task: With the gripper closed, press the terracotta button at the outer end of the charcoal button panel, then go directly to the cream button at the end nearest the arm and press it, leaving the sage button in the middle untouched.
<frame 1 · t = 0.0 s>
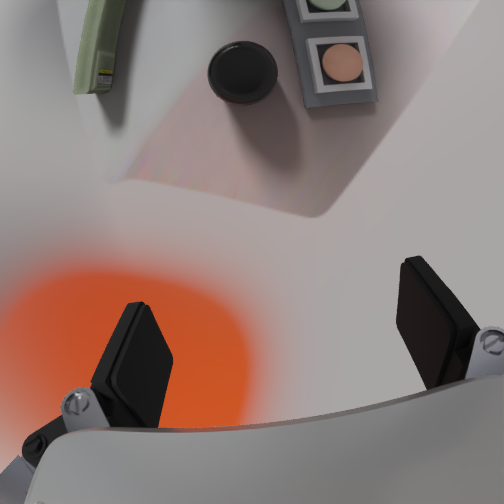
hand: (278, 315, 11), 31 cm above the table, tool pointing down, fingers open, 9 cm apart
button panel: (319, 2, 29), on the table
handheld radio: (118, 7, 29), on the table
terracotta button: (341, 62, 30), point 4 cm above the table, slide at 0.0 cm
supplement bottle: (244, 77, 34), on the table
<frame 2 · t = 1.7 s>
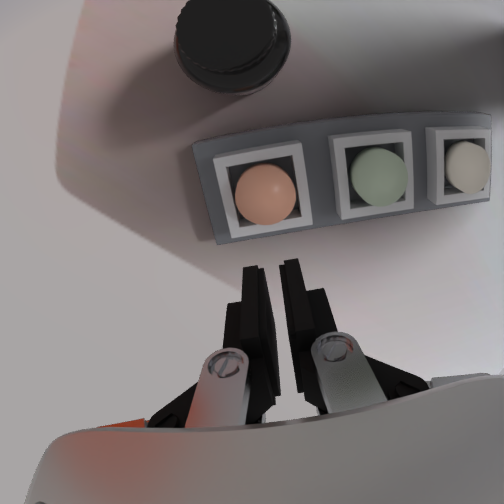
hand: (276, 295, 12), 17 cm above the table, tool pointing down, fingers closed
button panel: (362, 164, 27), on the table
sage button: (378, 176, 23), point 4 cm above the table, slide at 0.0 cm
cream button: (467, 167, 22), point 4 cm above the table, slide at 0.0 cm
terracotta button: (265, 193, 24), point 4 cm above the table, slide at 0.0 cm
supplement bottle: (238, 57, 23), on the table
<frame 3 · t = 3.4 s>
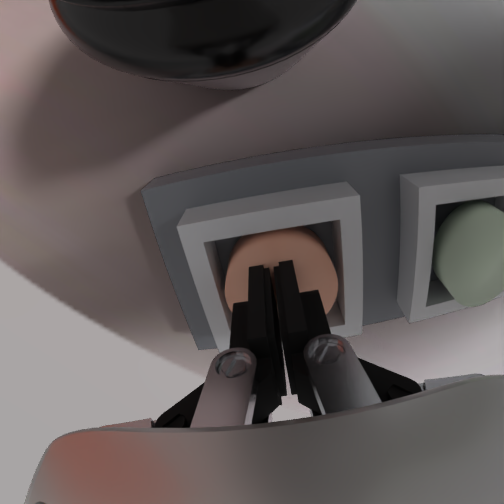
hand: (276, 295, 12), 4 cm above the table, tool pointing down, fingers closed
button panel: (438, 218, 15), on the table
sage button: (479, 254, 11), point 4 cm above the table, slide at 0.0 cm
terracotta button: (280, 279, 13), point 3 cm above the table, slide at 0.9 cm, touching gripper
supplement bottle: (231, 19, 11), on the table
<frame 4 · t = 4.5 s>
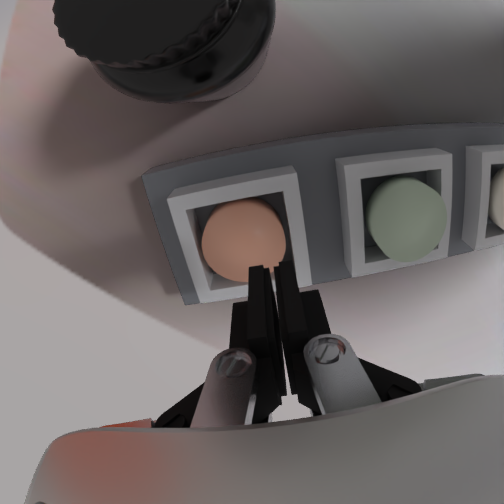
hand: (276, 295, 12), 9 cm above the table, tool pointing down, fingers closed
button panel: (380, 195, 19), on the table
sage button: (406, 218, 16), point 4 cm above the table, slide at 0.0 cm
terracotta button: (243, 238, 18), point 3 cm above the table, slide at 1.0 cm
supplement bottle: (207, 47, 15), on the table
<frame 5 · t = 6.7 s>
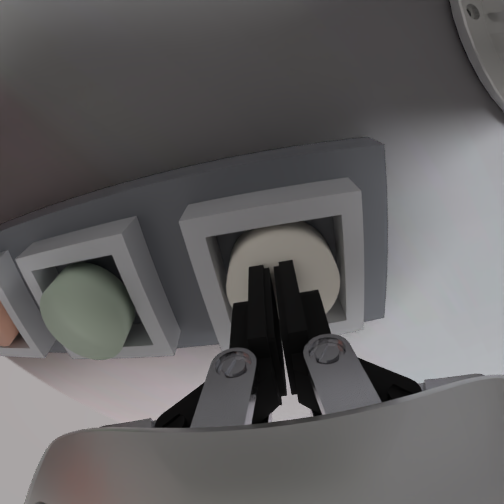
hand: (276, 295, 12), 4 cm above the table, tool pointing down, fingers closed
button panel: (116, 267, 17), on the table
sage button: (87, 313, 13), point 4 cm above the table, slide at 0.0 cm
cream button: (282, 276, 13), point 3 cm above the table, slide at 0.8 cm, touching gripper
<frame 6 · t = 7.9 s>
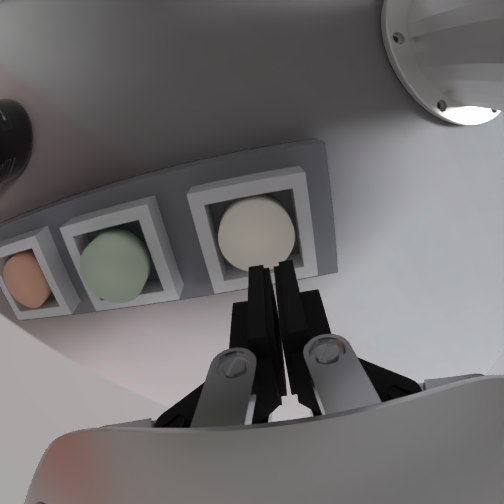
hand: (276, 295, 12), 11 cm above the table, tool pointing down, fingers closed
button panel: (134, 239, 22), on the table
sage button: (115, 266, 19), point 4 cm above the table, slide at 0.0 cm
cream button: (256, 232, 19), point 3 cm above the table, slide at 1.0 cm
terracotta button: (28, 278, 20), point 3 cm above the table, slide at 1.0 cm
supplement bottle: (7, 138, 18), on the table
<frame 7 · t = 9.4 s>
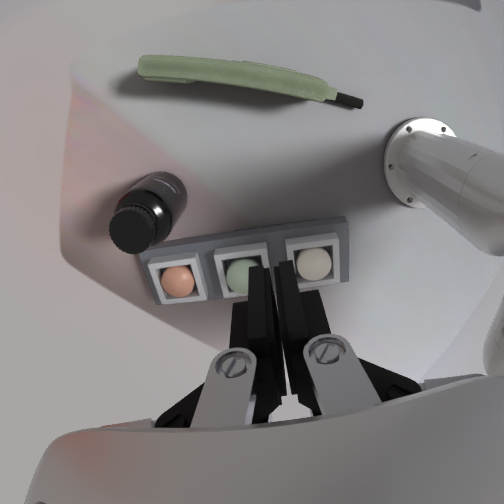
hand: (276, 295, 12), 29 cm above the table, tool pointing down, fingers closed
button panel: (245, 259, 44), on the table
handheld radio: (258, 80, 34), on the table
sage button: (244, 275, 41), point 4 cm above the table, slide at 0.0 cm
cream button: (313, 262, 41), point 3 cm above the table, slide at 1.0 cm
terracotta button: (178, 279, 42), point 3 cm above the table, slide at 1.0 cm
supplement bottle: (163, 194, 40), on the table
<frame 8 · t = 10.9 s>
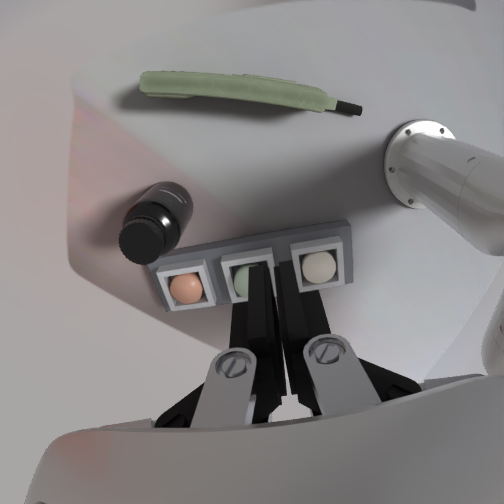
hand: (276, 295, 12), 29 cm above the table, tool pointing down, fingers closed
button panel: (251, 265, 45), on the table
handheld radio: (258, 91, 35), on the table
sage button: (251, 281, 42), point 4 cm above the table, slide at 0.0 cm
cream button: (318, 265, 42), point 3 cm above the table, slide at 1.0 cm
terracotta button: (186, 286, 43), point 3 cm above the table, slide at 1.0 cm
supplement bottle: (169, 204, 41), on the table
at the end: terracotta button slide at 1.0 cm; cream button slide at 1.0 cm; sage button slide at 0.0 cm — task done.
